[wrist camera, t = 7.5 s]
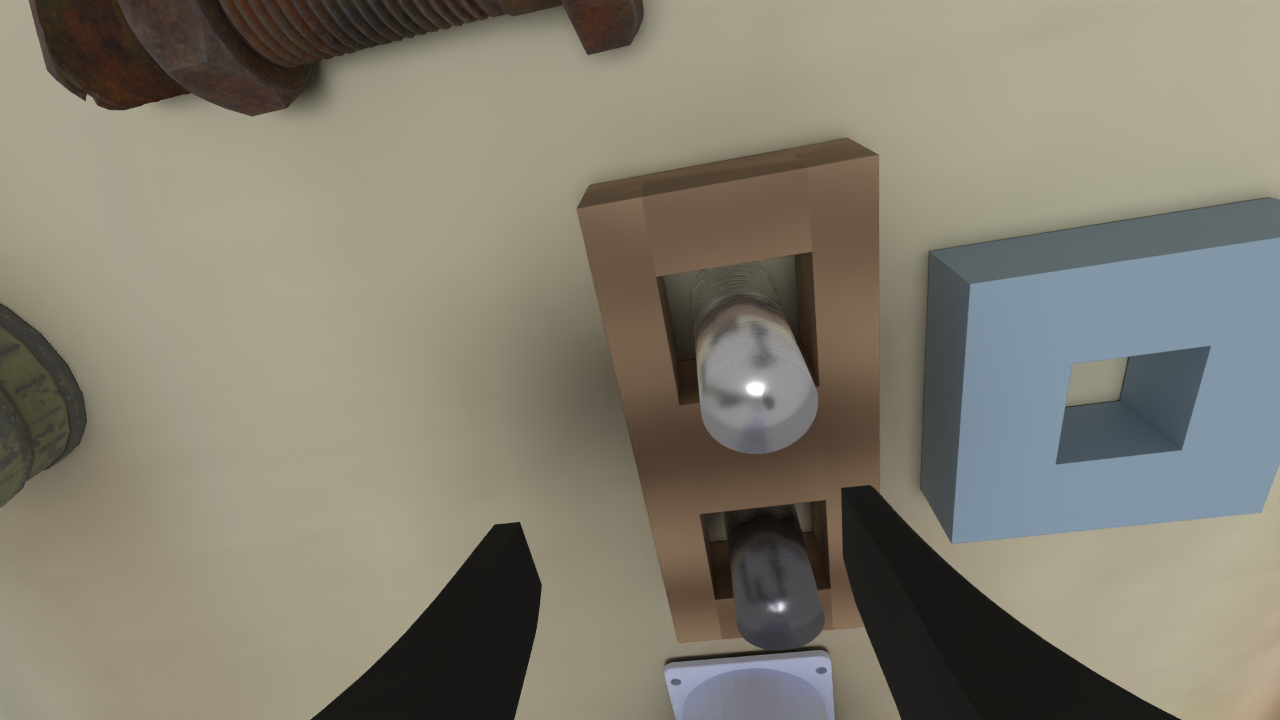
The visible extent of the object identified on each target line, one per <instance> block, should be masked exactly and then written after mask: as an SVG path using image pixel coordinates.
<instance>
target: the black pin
mask: <svg viewBox="0 0 1280 720" xmlns="http://www.w3.org/2000/svg"><path fill="white" fill-rule="evenodd" d="M724 518H725V527H726V535H727V544H728V552H729V561H730V569H731V578H732V586H733V594H734V603H735V611H736V620H737V627H738V630H739V632H740V634H741V635H742V637H743V638H744V639H745V640H746V641H748V642H749V643H751V644H753V645H755V646H757V647H760V648H763V649H767V650H789V649H794V648H798V647H801V646H803V645H805V644H807V643H809V642H811V641H812V640H813V639H815V638H816V637H817V636H818V635H819V633H820V632H821V630H822V629H823V626H824V623H825V616H824V612H823V608H822V604H821V601H820V597H819V593H818V590H817V586H816V582H815V579H814V575H813V571H812V568H811V564H810V560H809V557H808V553H807V549H806V546H805V542H804V538H803V535H802V531H801V527H800V524H799V520H798V516H797V513H796V509H795V505H794V504H786V505H777V506H768V507H759V508H750V509H741V510H732V511H724Z"/></svg>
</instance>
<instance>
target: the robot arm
mask: <svg viewBox="0 0 1280 720" xmlns="http://www.w3.org/2000/svg"><path fill="white" fill-rule="evenodd" d="M841 507H842V545H843V560H844V564H845V567H846V571H847V575H848V578H849V582H850V586H851V589H852V593H853V596H854V600H855V603H856V606H857V608H858V611H859V613H860V616H861V618H862V621H863V623H864V626H865V628H866V631H867V634H868V636H869V639H870V641H871V644H872V646H873V648H874V651H875V653H876V656H877V658H878V661H879V663H880V666H881V668H882V671H883V673H884V676H885V678H886V681H887V683H888V686H889V688H890V691H891V693H892V696H893V698H894V701H895V703H896V706H897V709H898V711H899V714H900V717H901V720H1181V719H1179V718H1177V717H1175V716H1173V715H1171V714H1169V713H1167V712H1165V711H1163V710H1161V709H1159V708H1157V707H1155V706H1153V705H1151V704H1150V703H1148V702H1146V701H1144V700H1142V699H1140V698H1139V697H1137V696H1135V695H1134V694H1132V693H1130V692H1128V691H1127V690H1125V689H1123V688H1121V687H1120V686H1118V685H1116V684H1114V683H1113V682H1111V681H1109V680H1107V679H1106V678H1104V677H1102V676H1101V675H1099V674H1097V673H1096V672H1094V671H1092V670H1091V669H1089V668H1088V667H1086V666H1085V665H1083V664H1081V663H1080V662H1078V661H1077V660H1075V659H1074V658H1072V657H1070V656H1069V655H1067V654H1066V653H1064V652H1063V651H1061V650H1060V649H1058V648H1056V647H1055V646H1053V645H1052V644H1050V643H1049V642H1047V641H1046V640H1044V639H1043V638H1041V637H1040V636H1039V635H1037V634H1036V633H1034V632H1033V631H1031V630H1030V629H1029V628H1027V627H1026V626H1024V625H1023V624H1022V623H1020V622H1019V621H1018V620H1016V619H1015V618H1014V617H1012V616H1011V615H1010V614H1008V613H1007V612H1006V611H1004V610H1003V609H1002V608H1000V607H999V606H998V605H997V604H995V603H994V602H993V601H991V600H990V599H989V598H988V597H987V596H985V595H984V594H983V593H982V592H980V591H979V590H978V589H977V588H976V587H974V586H973V585H972V584H971V583H970V582H969V581H967V580H966V579H965V578H964V577H963V576H962V575H960V574H959V573H958V572H957V571H956V570H955V569H954V568H953V567H951V566H950V565H949V564H948V563H947V562H946V561H945V560H944V559H943V558H942V557H941V556H940V555H939V554H937V553H936V552H935V551H934V550H933V549H932V548H931V547H930V546H929V545H928V544H927V543H926V542H925V541H924V540H923V539H922V538H921V537H920V536H919V535H918V534H917V533H916V532H915V531H914V530H913V529H912V528H911V527H910V526H909V525H908V524H907V523H906V522H905V521H904V520H903V519H902V518H901V517H900V516H899V515H898V513H897V512H896V511H895V510H894V509H893V508H892V507H891V506H890V505H889V504H888V503H887V501H886V500H885V499H884V498H883V497H882V496H881V495H880V494H879V492H878V491H877V490H876V489H875V488H874V487H872V486H871V485H864V486H855V487H845V488H841ZM541 588H542V585H541V582H540V579H539V576H538V573H537V570H536V567H535V564H534V561H533V559H532V556H531V553H530V550H529V547H528V544H527V541H526V538H525V535H524V533H523V530H522V527H521V524H520V522H515V523H506V524H496V525H494V526H493V527H492V529H491V530H490V531H489V532H488V533H487V535H486V536H485V537H484V538H483V540H482V541H481V542H480V543H479V545H478V546H477V547H476V549H475V550H474V551H473V552H472V554H471V555H470V556H469V558H468V559H467V560H466V561H465V563H464V564H463V565H462V566H461V568H460V569H459V570H458V572H457V573H456V574H455V575H454V576H453V578H452V579H451V580H450V581H449V583H448V584H447V585H446V586H445V588H444V589H443V590H442V591H441V592H440V594H439V595H438V596H437V597H436V599H435V600H434V601H433V602H432V603H431V604H430V605H429V607H428V608H427V609H426V610H425V611H424V612H423V613H422V614H421V616H420V617H419V618H418V619H417V620H416V621H415V622H414V624H413V625H412V626H411V627H410V628H409V629H408V630H407V631H406V633H405V634H404V635H403V636H402V637H401V638H400V639H399V640H398V641H397V642H396V643H395V644H394V645H393V646H392V647H391V648H390V649H389V650H388V651H387V652H386V653H385V654H384V655H383V656H382V657H381V658H380V659H379V660H378V661H377V662H376V663H375V664H374V665H373V666H372V667H371V668H370V669H369V670H368V671H366V672H365V673H364V674H363V675H362V676H361V677H360V678H359V679H358V680H357V681H355V682H354V683H353V684H352V685H351V686H350V687H348V688H347V689H346V690H345V691H344V692H343V693H342V694H340V695H339V696H338V697H337V698H336V699H335V700H333V701H332V702H331V703H330V704H329V705H328V706H327V707H325V708H324V709H323V710H322V711H321V712H319V713H318V714H317V715H316V716H315V717H313V718H312V719H311V720H514V718H515V714H516V710H517V706H518V702H519V698H520V694H521V690H522V687H523V683H524V679H525V675H526V671H527V667H528V663H529V659H530V654H531V650H532V646H533V642H534V638H535V634H536V629H537V622H538V615H539V607H540V597H541ZM664 676H665V680H666V684H667V688H668V692H669V696H670V700H671V703H672V707H673V711H674V715H675V719H676V720H835V716H834V699H833V682H832V666H831V659H830V656H829V654H828V653H827V652H826V651H823V650H814V651H802V652H790V653H778V654H766V655H754V656H742V657H730V658H718V659H706V660H694V661H682V662H672V663H669V664H667V665H666V666H665V667H664Z"/></svg>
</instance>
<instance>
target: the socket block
mask: <svg viewBox="0 0 1280 720" xmlns="http://www.w3.org/2000/svg"><path fill="white" fill-rule="evenodd" d="M1121 357H1129V360H1128V365H1127V370H1126V374H1125V379H1124V384H1123V389H1122V393H1121V398H1120V401H1114V402H1106V403H1098V404H1090V405H1082V406H1074V407H1066V408H1065V404H1066V398H1067V392H1068V386H1069V380H1070V374H1071V368H1072V364H1076V363H1084V362H1091V361H1099V360H1106V359H1114V358H1121ZM1279 465H1280V200H1277V199H1274V198H1270V197H1269V198H1263V199H1257V200H1250V201H1244V202H1238V203H1231V204H1225V205H1219V206H1212V207H1206V208H1200V209H1193V210H1187V211H1181V212H1174V213H1168V214H1162V215H1155V216H1149V217H1143V218H1136V219H1130V220H1124V221H1118V222H1111V223H1105V224H1099V225H1092V226H1086V227H1080V228H1073V229H1067V230H1061V231H1054V232H1048V233H1042V234H1035V235H1029V236H1023V237H1016V238H1010V239H1004V240H997V241H991V242H985V243H978V244H972V245H966V246H959V247H953V248H947V249H940V250H934V251H930V254H929V280H928V307H927V334H926V360H925V387H924V413H923V440H922V467H921V490H922V492H923V494H924V496H925V497H926V499H927V501H928V503H929V505H930V506H931V508H932V510H933V512H934V513H935V515H936V517H937V519H938V521H939V522H940V524H941V526H942V528H943V529H944V531H945V533H946V535H947V536H948V538H949V540H950V542H951V544H957V543H967V542H977V541H987V540H996V539H1006V538H1016V537H1026V536H1036V535H1046V534H1056V533H1065V532H1075V531H1085V530H1095V529H1105V528H1115V527H1125V526H1134V525H1144V524H1154V523H1164V522H1174V521H1184V520H1194V519H1203V518H1213V517H1223V516H1233V515H1243V514H1253V513H1261V512H1262V510H1263V507H1264V504H1265V502H1266V499H1267V496H1268V494H1269V491H1270V488H1271V486H1272V483H1273V480H1274V478H1275V475H1276V472H1277V470H1278V467H1279Z"/></svg>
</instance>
